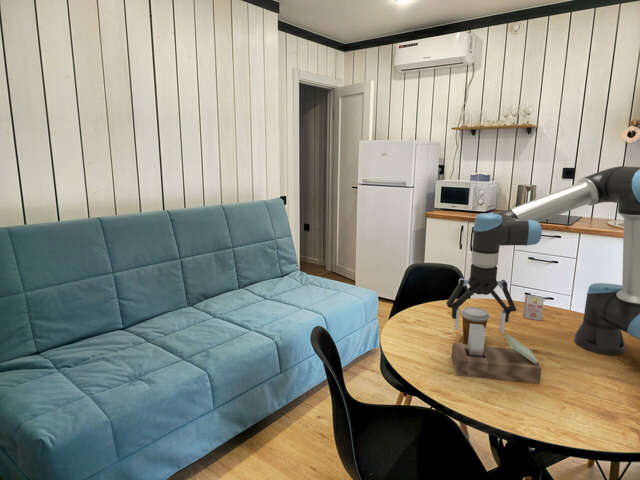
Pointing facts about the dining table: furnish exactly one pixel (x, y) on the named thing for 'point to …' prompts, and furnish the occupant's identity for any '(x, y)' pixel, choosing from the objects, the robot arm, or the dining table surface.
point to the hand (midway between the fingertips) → (478, 329)
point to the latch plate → (521, 349)
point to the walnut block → (495, 364)
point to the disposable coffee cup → (473, 319)
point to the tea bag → (533, 307)
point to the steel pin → (476, 340)
